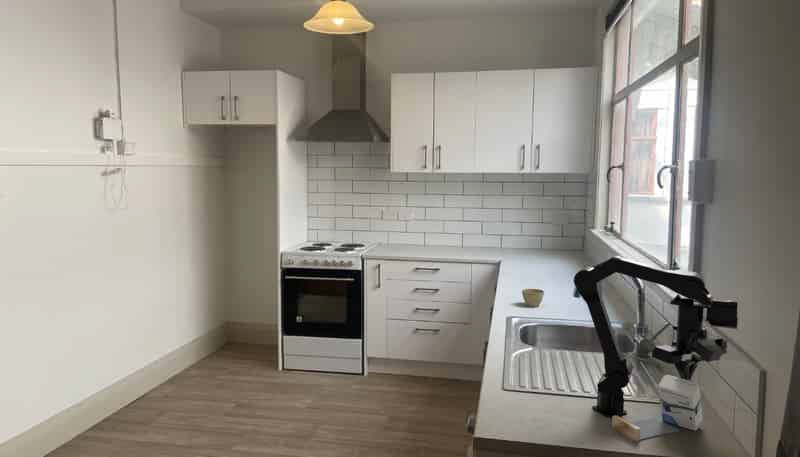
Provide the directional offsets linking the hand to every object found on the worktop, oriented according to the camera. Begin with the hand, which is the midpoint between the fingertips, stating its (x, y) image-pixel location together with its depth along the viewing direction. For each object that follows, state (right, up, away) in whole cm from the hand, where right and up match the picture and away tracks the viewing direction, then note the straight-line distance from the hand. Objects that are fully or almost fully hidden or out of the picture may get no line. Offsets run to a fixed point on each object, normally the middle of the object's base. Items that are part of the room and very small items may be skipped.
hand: (685, 383), depth 150 cm
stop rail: (-17, -11, -4) cm, 20 cm away
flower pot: (-10, +3, +127) cm, 127 cm away
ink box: (0, -10, +2) cm, 10 cm away
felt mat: (-10, -11, -1) cm, 15 cm away
